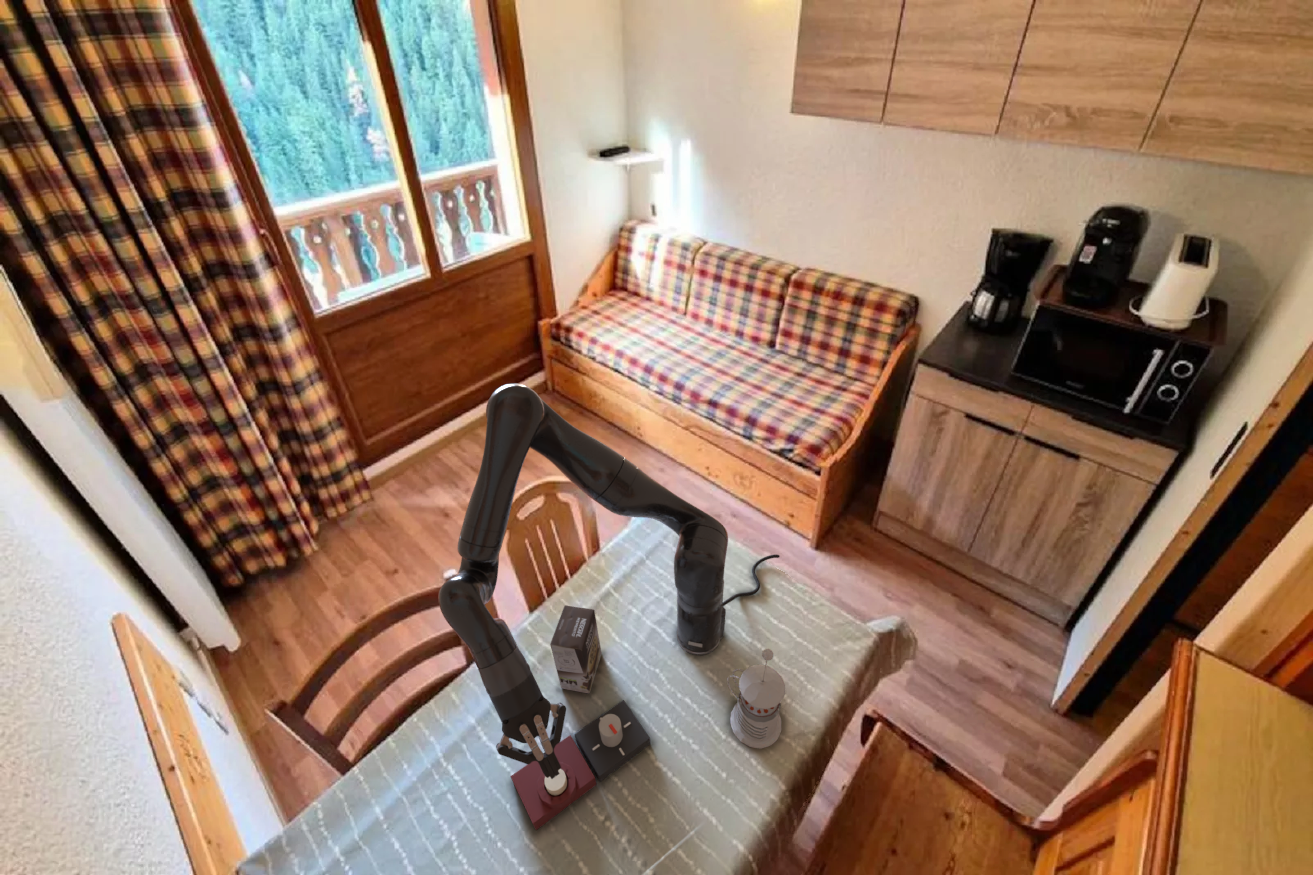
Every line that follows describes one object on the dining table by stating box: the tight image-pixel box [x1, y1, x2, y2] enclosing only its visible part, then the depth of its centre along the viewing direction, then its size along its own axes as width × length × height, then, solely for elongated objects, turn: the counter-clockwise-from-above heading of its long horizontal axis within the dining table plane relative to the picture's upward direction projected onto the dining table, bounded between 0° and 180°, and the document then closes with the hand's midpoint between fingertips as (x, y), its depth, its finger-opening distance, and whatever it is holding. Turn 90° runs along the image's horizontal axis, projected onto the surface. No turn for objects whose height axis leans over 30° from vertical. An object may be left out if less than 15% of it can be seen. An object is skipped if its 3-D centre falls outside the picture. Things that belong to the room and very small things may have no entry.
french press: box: [726, 648, 786, 749], centre depth 102 cm, size 10×12×25 cm
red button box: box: [510, 734, 598, 831], centre depth 101 cm, size 12×10×5 cm
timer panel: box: [573, 699, 651, 782], centre depth 107 cm, size 11×9×3 cm
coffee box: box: [549, 604, 602, 694], centre depth 114 cm, size 9×6×16 cm
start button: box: [545, 769, 567, 795], centre depth 97 cm, size 4×4×2 cm
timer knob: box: [599, 714, 623, 747], centre depth 104 cm, size 4×4×5 cm
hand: (554, 775), depth 96 cm, fingers closed
